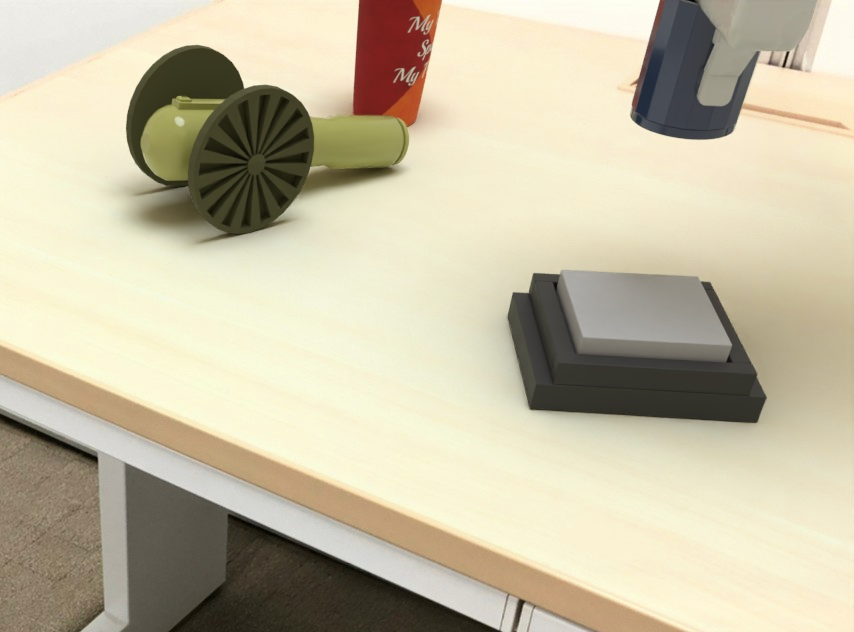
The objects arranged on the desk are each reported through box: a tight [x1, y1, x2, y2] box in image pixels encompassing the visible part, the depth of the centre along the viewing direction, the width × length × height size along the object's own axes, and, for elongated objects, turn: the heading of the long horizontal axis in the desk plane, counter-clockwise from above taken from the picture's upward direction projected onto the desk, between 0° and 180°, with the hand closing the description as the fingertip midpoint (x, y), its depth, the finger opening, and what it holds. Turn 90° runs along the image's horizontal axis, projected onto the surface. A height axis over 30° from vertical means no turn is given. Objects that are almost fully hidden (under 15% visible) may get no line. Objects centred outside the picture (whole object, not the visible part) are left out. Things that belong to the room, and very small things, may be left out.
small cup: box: [629, 0, 762, 141], centre depth 75 cm, size 6×6×8 cm
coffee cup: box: [352, 0, 443, 127], centre depth 112 cm, size 8×8×15 cm
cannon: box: [125, 44, 410, 235], centre depth 101 cm, size 25×12×11 cm, turn 117°
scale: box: [507, 272, 768, 423], centre depth 82 cm, size 14×12×4 cm
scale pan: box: [556, 269, 732, 362], centre depth 81 cm, size 9×9×2 cm
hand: (694, 78), depth 76 cm, fingers closed on small cup, 6 cm apart
